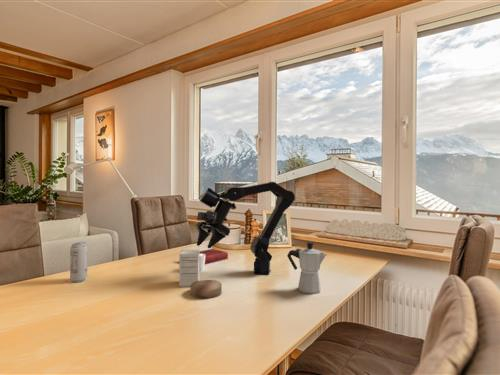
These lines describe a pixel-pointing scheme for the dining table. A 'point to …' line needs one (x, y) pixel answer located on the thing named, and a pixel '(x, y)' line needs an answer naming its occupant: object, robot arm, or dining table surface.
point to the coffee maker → (308, 268)
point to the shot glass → (201, 262)
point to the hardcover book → (214, 255)
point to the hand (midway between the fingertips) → (202, 246)
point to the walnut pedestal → (206, 289)
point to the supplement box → (188, 267)
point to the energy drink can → (78, 262)
